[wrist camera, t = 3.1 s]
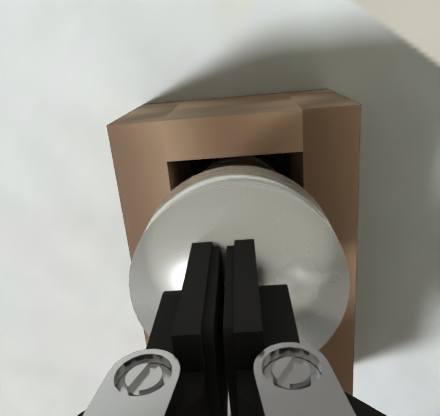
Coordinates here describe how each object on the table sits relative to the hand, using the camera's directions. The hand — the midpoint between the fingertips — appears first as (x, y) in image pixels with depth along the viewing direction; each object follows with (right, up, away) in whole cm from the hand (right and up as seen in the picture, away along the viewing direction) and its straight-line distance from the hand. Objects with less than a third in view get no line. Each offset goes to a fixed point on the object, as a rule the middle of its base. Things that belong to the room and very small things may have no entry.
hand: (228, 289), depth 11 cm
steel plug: (+1, +3, +7) cm, 8 cm away
